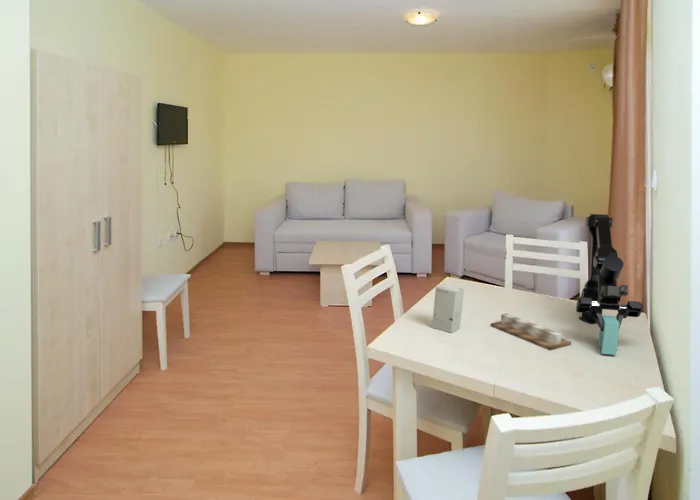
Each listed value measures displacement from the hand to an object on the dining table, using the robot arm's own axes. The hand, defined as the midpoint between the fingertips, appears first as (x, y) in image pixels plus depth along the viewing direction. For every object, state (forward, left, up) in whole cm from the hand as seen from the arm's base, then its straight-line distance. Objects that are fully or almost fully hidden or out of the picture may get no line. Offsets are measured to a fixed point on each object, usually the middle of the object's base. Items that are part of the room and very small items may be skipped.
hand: (609, 331), depth 183 cm
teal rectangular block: (-1, -1, -7) cm, 7 cm away
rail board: (+12, -22, -7) cm, 26 cm away
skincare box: (+35, -37, -8) cm, 52 cm away
